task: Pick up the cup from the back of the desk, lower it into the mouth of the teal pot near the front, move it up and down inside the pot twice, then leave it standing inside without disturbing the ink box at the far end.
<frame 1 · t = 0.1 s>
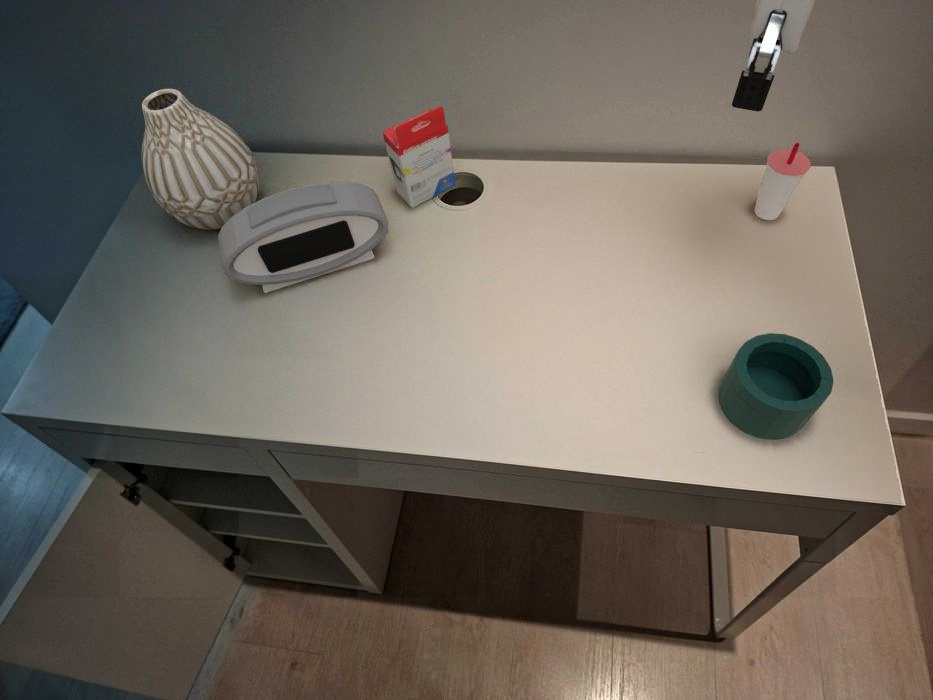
hand: (754, 83, 68), 22 cm above the table, tool pointing down, fingers open, 9 cm apart
alarm clock: (317, 266, 88), on the table
cup: (766, 213, 87), on the table
ink box: (426, 190, 96), on the table
teal pot: (762, 401, 70), on the table
vase: (224, 211, 97), on the table
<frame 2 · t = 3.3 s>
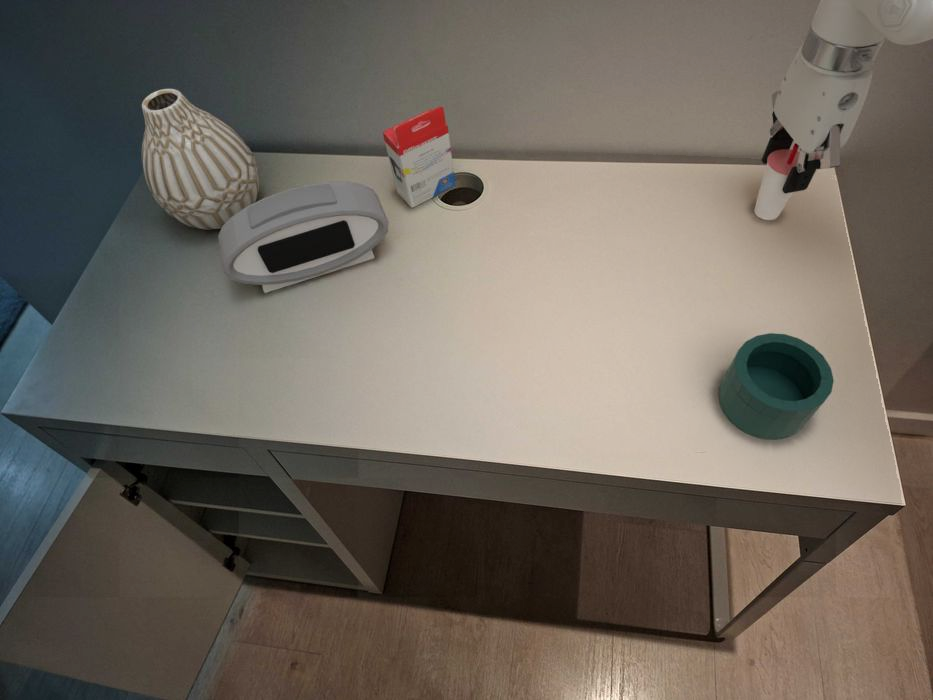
hand: (783, 174, 81), 7 cm above the table, tool pointing down, fingers closed on cup, 5 cm apart
cup: (766, 213, 87), on the table, touching gripper
everything else where it was.
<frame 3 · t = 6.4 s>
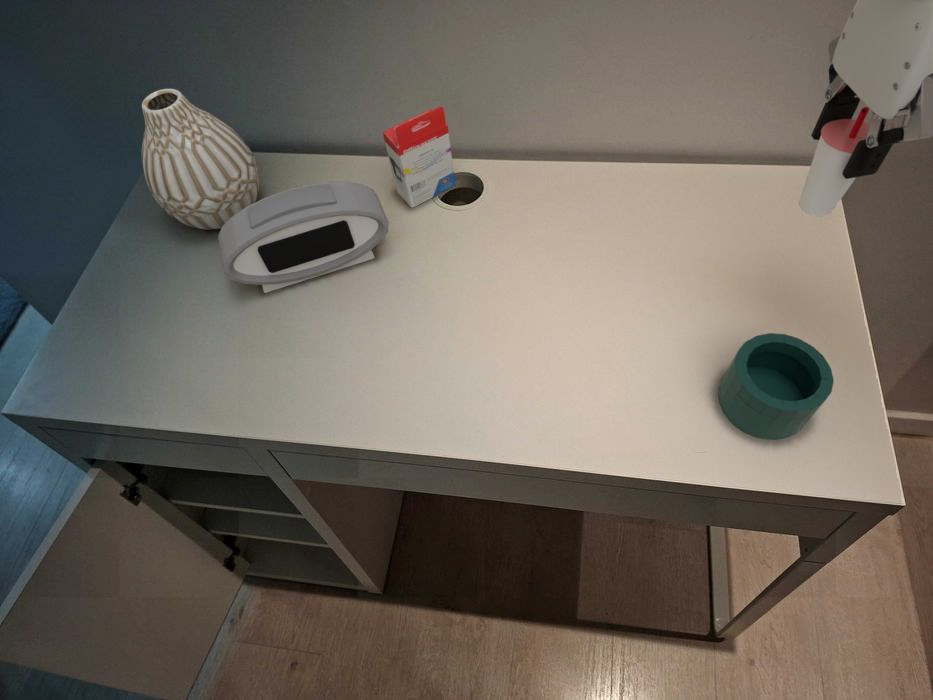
hand: (842, 153, 59), 23 cm above the table, tool pointing down, fingers closed on cup, 5 cm apart
cup: (815, 207, 65), point 16 cm above the table, touching gripper
everything else where it was.
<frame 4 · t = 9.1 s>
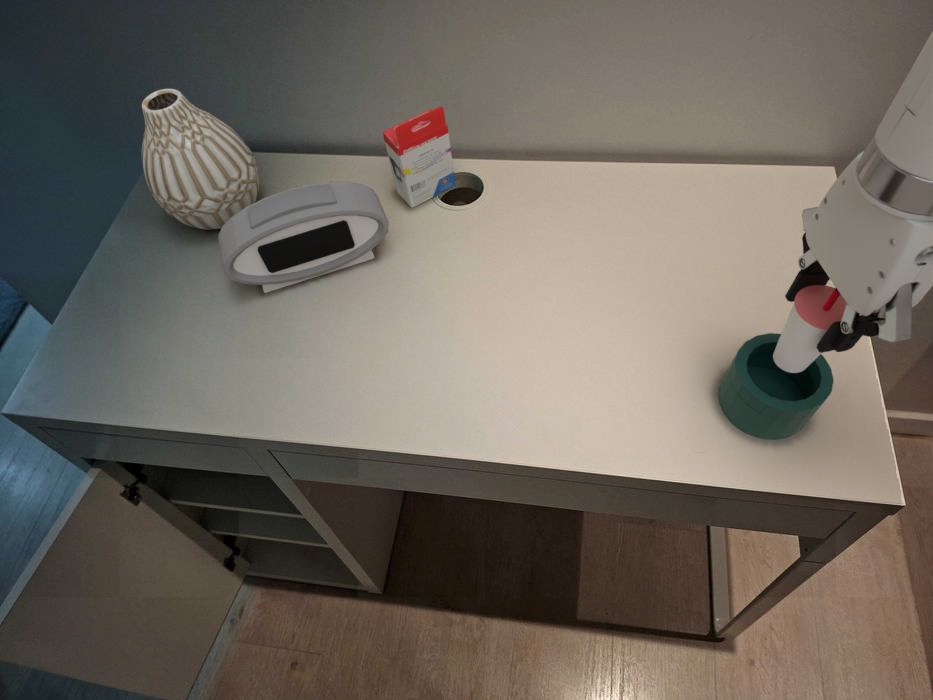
hand: (817, 320, 57), 16 cm above the table, tool pointing down, fingers closed on cup, 5 cm apart
cup: (789, 360, 62), point 9 cm above the table, touching gripper
everything else where it was.
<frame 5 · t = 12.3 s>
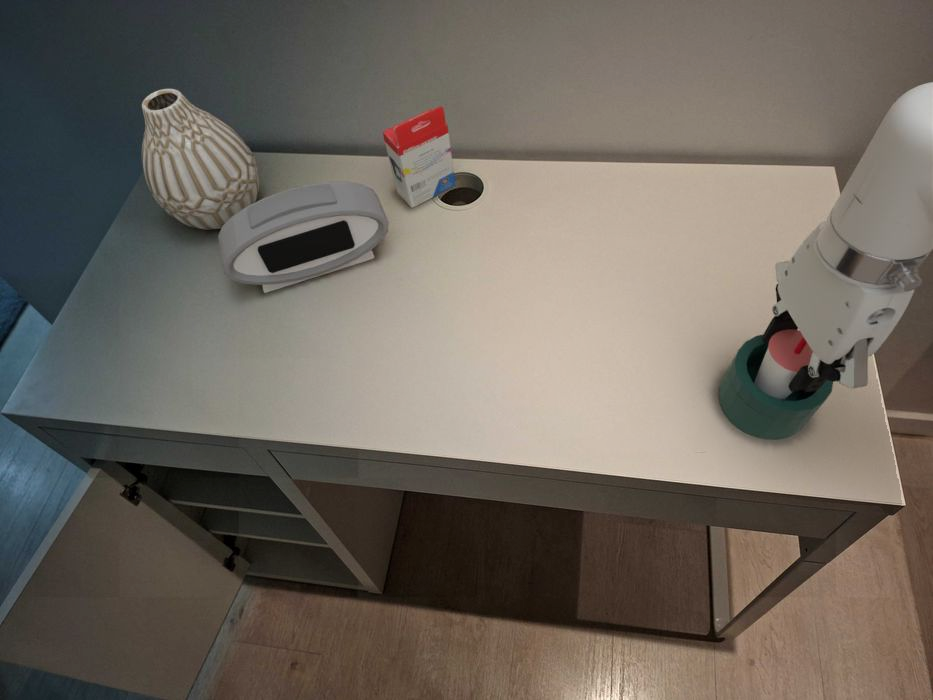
hand: (789, 361, 63), 9 cm above the table, tool pointing down, fingers closed on cup, 5 cm apart
cup: (766, 394, 68), point 2 cm above the table, touching gripper
everything else where it was.
when the fingers open (7 cm above the table, at t = 14.9 s): cup stays where it is, resting on teal pot.
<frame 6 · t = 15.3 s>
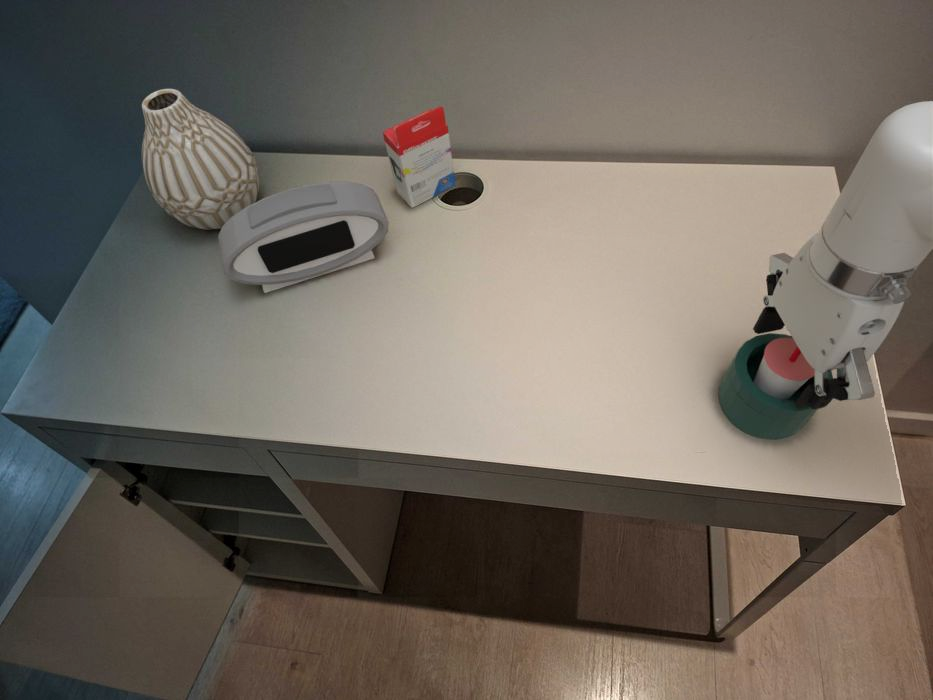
hand: (787, 365, 63), 8 cm above the table, tool pointing down, fingers open, 9 cm apart
cup: (763, 400, 70), resting on teal pot
everything else where it was.
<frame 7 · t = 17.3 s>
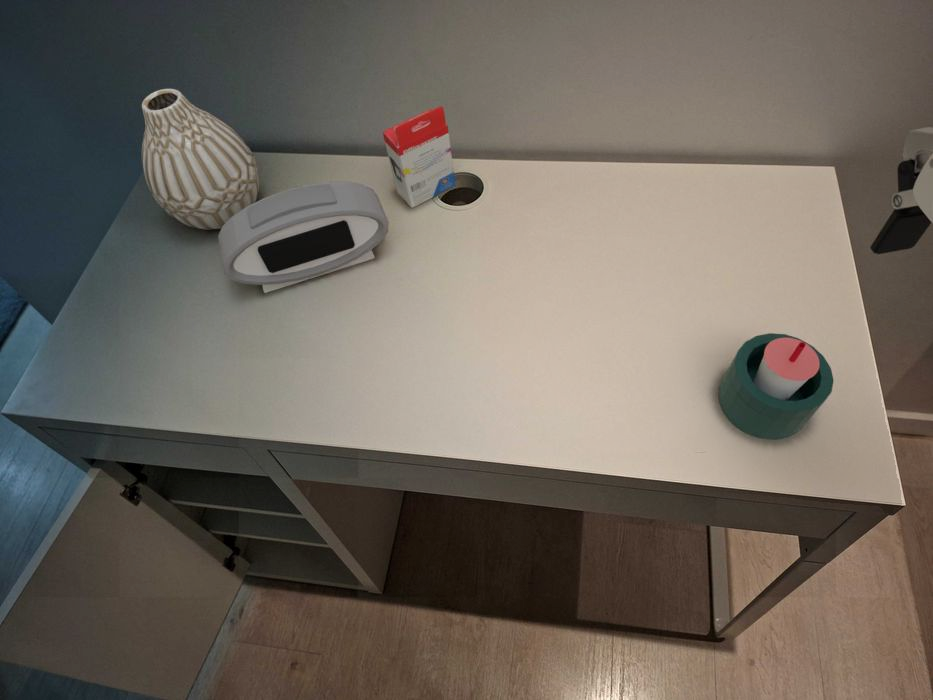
hand: (926, 295, 44), 27 cm above the table, tool pointing down, fingers open, 9 cm apart
nothing on the table moved.
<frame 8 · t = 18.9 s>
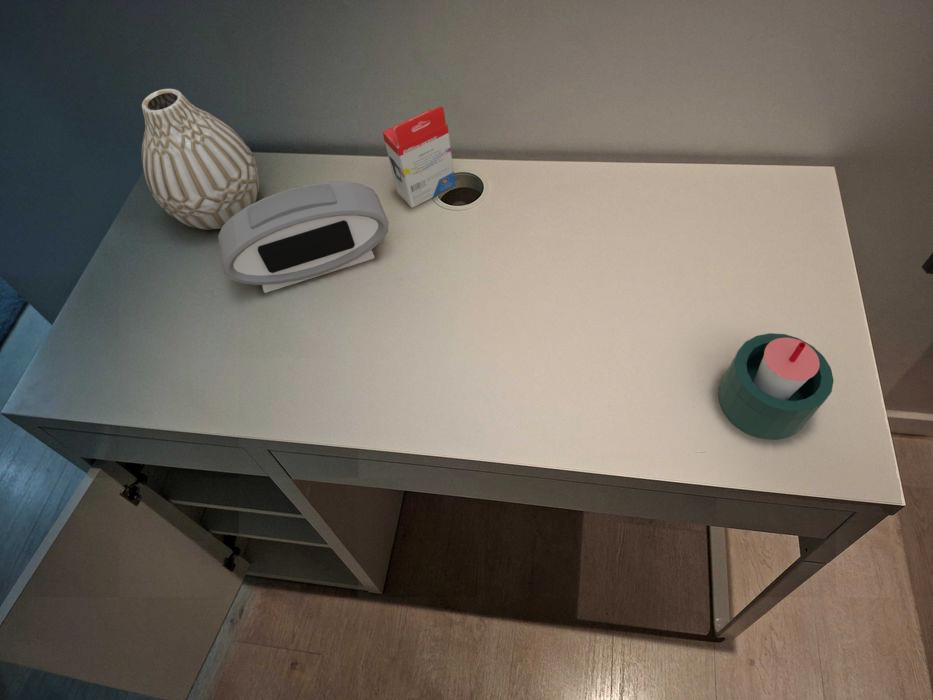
nothing on the table moved.
at the end: cup 0.0 cm off-centre in the teal pot, point 0.3 cm above the teal pot's base; cup tilted 0°; ink box moved 0.2 cm from its start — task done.
